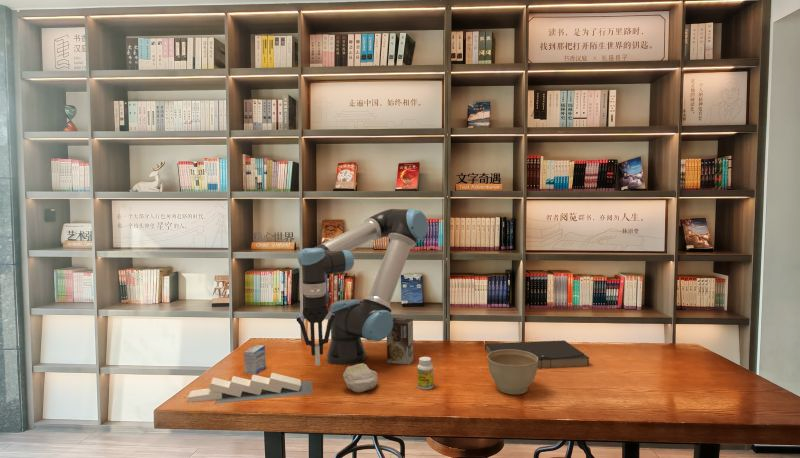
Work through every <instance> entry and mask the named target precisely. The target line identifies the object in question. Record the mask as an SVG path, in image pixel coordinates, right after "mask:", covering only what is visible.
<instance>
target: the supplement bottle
mask: <svg viewBox="0 0 800 458" xmlns="http://www.w3.org/2000/svg"><path fill="white" fill-rule="evenodd" d="M418 363H419V364H418V365H417V370H416V371H417V373H416V374H417V380H416V381H417V387H418V388H419V389H420V390H431V389H432V388H433V387H434V385H435V384H434V383H435V382H434V365H433V364H432V357H429V356H422V357H419V358H418Z"/></svg>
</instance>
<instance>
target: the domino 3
mask: <svg viewBox="0 0 800 458" xmlns="http://www.w3.org/2000/svg"><path fill="white" fill-rule="evenodd" d="M230 382H231V383H230V386H229V388H231V389H236V390H240V391H244V392H248V393H253V394H257V395H260V394H261V391H262V389H259V388H255V387H250V386H249V385H250V382H251V379H247V378H244V377H239V376H234V375H233V376H232V378H231V381H230Z"/></svg>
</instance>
